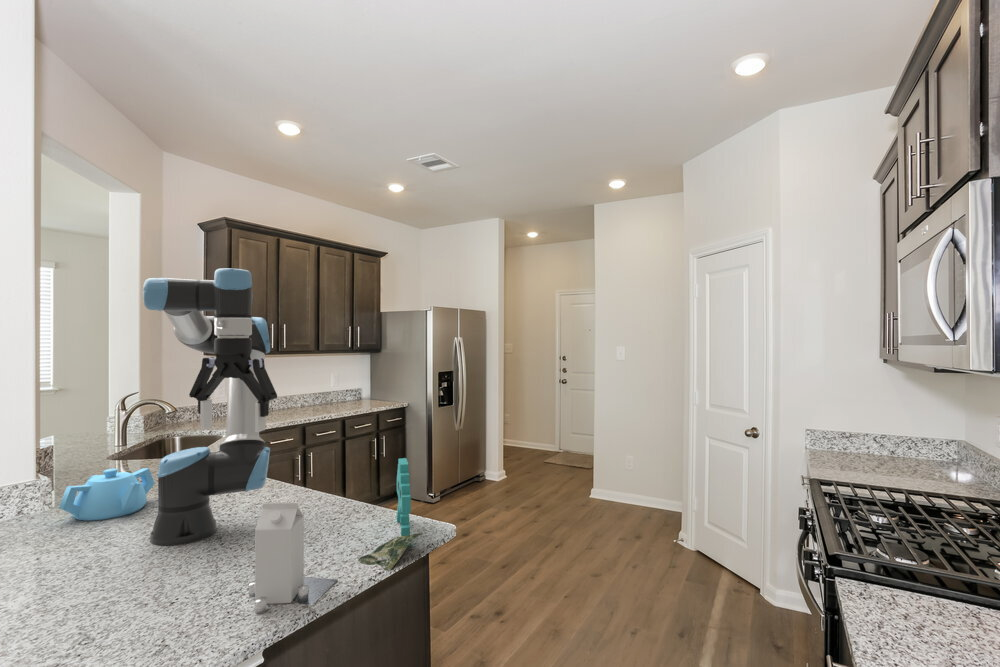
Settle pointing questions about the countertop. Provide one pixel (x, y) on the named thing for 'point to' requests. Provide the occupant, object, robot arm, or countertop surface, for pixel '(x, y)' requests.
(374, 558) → the topographical model
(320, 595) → the plate
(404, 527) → the alien figure
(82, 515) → the teapot
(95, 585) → the countertop surface
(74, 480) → the countertop surface
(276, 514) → the milk carton
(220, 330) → the robot arm
